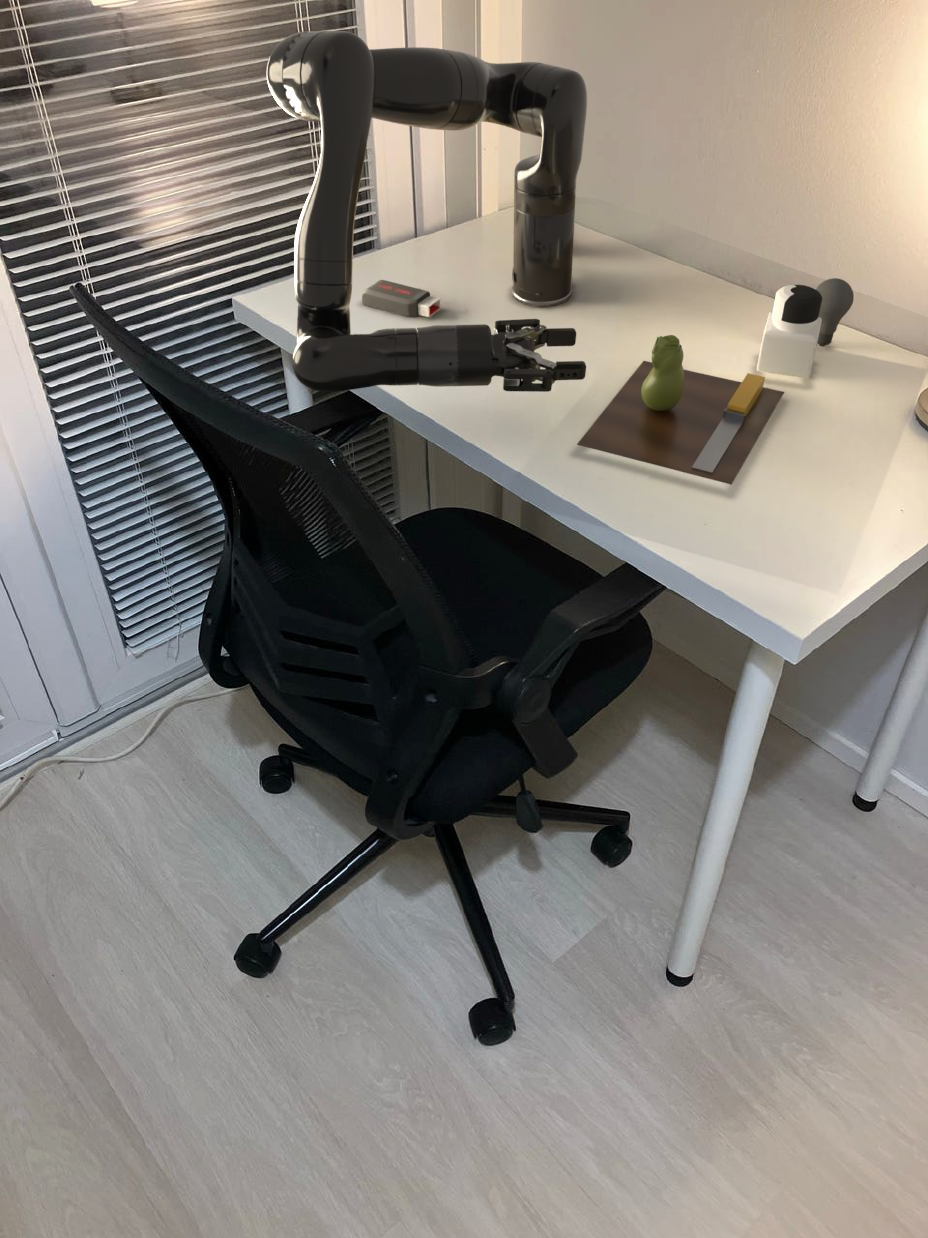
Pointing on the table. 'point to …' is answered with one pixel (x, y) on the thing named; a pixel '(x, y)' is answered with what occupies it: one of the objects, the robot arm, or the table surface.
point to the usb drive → (400, 299)
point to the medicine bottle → (791, 332)
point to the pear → (664, 375)
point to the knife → (730, 423)
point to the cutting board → (679, 424)
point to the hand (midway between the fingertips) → (580, 353)
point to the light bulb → (833, 307)
